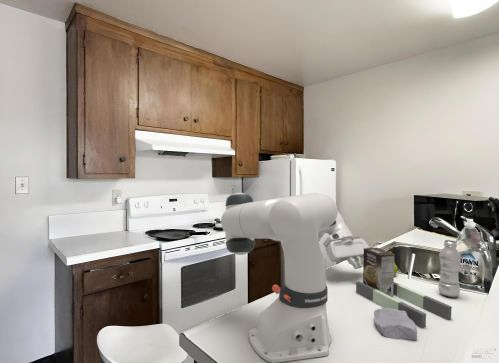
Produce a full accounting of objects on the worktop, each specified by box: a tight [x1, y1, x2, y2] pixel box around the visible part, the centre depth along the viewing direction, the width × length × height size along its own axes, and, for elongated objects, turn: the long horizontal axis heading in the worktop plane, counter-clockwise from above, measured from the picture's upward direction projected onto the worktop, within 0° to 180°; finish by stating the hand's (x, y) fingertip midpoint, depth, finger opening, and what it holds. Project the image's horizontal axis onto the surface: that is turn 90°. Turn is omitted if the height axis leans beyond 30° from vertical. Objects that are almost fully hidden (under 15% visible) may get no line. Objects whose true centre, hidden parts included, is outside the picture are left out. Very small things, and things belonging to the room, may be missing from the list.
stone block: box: [373, 307, 418, 341], centre depth 82 cm, size 12×5×10 cm
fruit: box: [388, 247, 398, 276], centre depth 123 cm, size 6×6×12 cm
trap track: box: [355, 280, 453, 329], centre depth 96 cm, size 13×26×4 cm, turn 23°
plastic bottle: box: [437, 239, 462, 298], centre depth 103 cm, size 6×7×20 cm
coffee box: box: [362, 247, 396, 298], centre depth 104 cm, size 9×6×16 cm
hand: (358, 268), depth 113 cm, fingers closed
